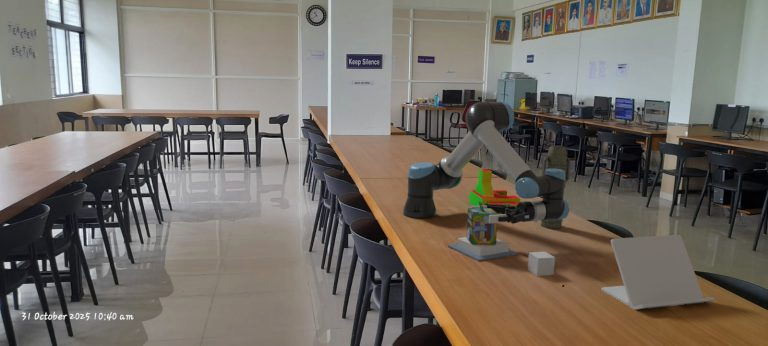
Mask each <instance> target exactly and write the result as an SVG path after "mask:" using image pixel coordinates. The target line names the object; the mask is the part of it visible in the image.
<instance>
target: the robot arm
mask: <svg viewBox="0 0 768 346" xmlns="http://www.w3.org/2000/svg"><path fill="white" fill-rule="evenodd" d="M514 121H515V113H514V110H513V108H512V106H511V105H510V103H509V104H508V102H502V101H478V102H475V103H474V104H472V105H471V106H469V108H468V109H467V111H466V114H465V125H466V127H467V129H468V132H467V133H466V135H465V136H464V137H463V138H462V140H460V142H459V143H458V145H456V147H455V148H454V149H453V150H452V152H451V153H450V154H448V156H444V157H443V158H441V159H440V161H439V162H438V163H437V164H434V163H433V162H429V161H425V162H423V161H422V162H416V163H413V164H411V165H409V167H408V173H407V198H406V200H405V203H404V206H403V208H402V214H403V215H404V216H405V217H408V218H409V217H410V218H414V219H415V218H416V219H430V218H434V217H436V216H437V209H436V205H435V201H434V191H439V190H440V191H441V190H451V189H453V188H456V187H458V186H459V185H460V184H461V182H462V180H463V178H462V177H463V173H464V170H463V169H464V168H465V167H466V166H467V165H468V163H469V162H470V161H471V160H472V159H473V158H474V157H475V156H476V155H477V153H478V152H479V151H480V150H481V149H482V148H483V146H484V147H485V148H486V149H487V150H488V152H489V153H490V155H492V157H493V158H494V159H495V160H496V162H498V164H499V165H500V166H501V168H503V170H504V171H505V172H506V174H508V176H509V177H510V179H512V181H513V182H514V183H515V186H514V190H515V193H516V196H517V197H519V198H520V199H521V198H522V199H525V200H526V199H535V198H538V197H539V198H540V197H542V200H529V201H520V203H518V205H517V206H516V207H515V206H510V205H499V204H484V206H483V208H491V209H492V210H494V211H495V212H496V213H501V214H500V215H489V223H497V224H498V223H510V224H512V225H514V224H517V223H520V222H522V223H527V222H534V223H538V221H539V222H541V220H558V219H565V218H567V217H568V215H569V213H570V207H569V202H568V201H567V200H565V199H564V193H565V188H564V186H565V187H566V184H565V172H566V171H565V172H564V171H563V170H561V169H554V168H548V169H547V168H546V170H545V173H544V175H543V176H542V175H536V173H534V171H533V170H532V169H531V168H530V167H529V165H527V163H526V162H525V161H524V159H522V157H521V156H520V155H519V154H518V153H517V152H516V150H515V149H514V148H513V147H512V146H511V144H510V143H509V142H508V141H507V140H506V138H505V137H504V136H503V135H502V134H501V132H502V131H507V130H509V129H511V127H512V126H513V124H514ZM481 207H482V206H481ZM469 208H480V206H473V205H470V207H469ZM505 212H506V213H505Z"/></svg>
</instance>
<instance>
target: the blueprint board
mask: <svg viewBox="0 0 768 346" xmlns="http://www.w3.org/2000/svg"><path fill="white" fill-rule="evenodd" d="M447 247H448V248H450V249H451V250H454V251H457V252H458V253H460V254H462V255H465V256H466V255H467V257H469V258H471V259H473V260H476V261H477V262H483V261H487V260H493V259H498V258H505V257H511V256H515V255H518V254H519V253H518V252H517V251H515V250H512V249H510V248H508V252H503V253H497V254H491V255H485V256H478V255H475V254H473V253H471V252H469V251H467V250H465V249H462V248H460V247H458V246H457V243H453V244H452V243H451V244H448V245H447Z"/></svg>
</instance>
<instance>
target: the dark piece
mask: <svg viewBox="0 0 768 346" xmlns="http://www.w3.org/2000/svg"><path fill="white" fill-rule="evenodd" d="M567 153H568V152H567V149H566V146H564V145H555V144H554V145H551V146H550V147H549V149H548V153H547V156H544V157H543V159H542V165H541V166H542V167H541V176H543V175H544V173H545V170H546V169H548V168H554V169H561V170H563V171H564V172H565V186H564V189H565V188H566V184H567V182H568V181H569V180H570V171H571V162H572V161H571V159H570V157H567ZM562 223H563V219H558V220H541V221H540V226H541V227H543V228H545V229H549V230H550V229H552V230H559V229H560V230H561V229H562Z"/></svg>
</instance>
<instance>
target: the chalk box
mask: <svg viewBox="0 0 768 346" xmlns="http://www.w3.org/2000/svg"><path fill="white" fill-rule="evenodd" d="M479 205H480V208H470V207H468V208H467V223H466V224H467V225H466V237H467V238H468V240H469V241H470V243H471V244H496V239H497V232H498V231H497V229H498V223H489V215H497V213H496V212H495V211H494V210H492V209H491V208H483V205H482V202H480V201H479ZM481 206H482V207H481Z"/></svg>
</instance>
